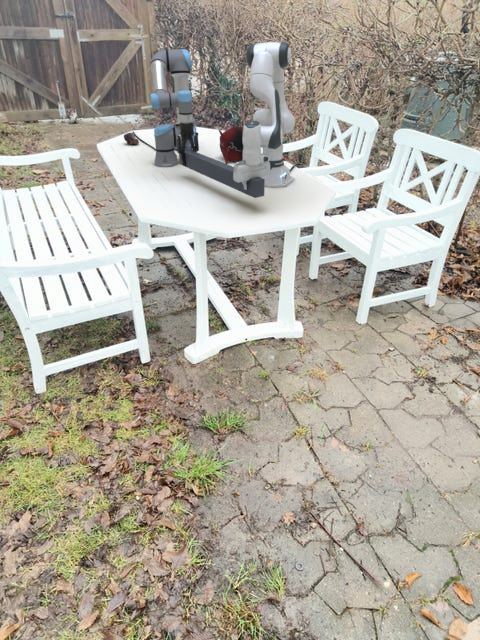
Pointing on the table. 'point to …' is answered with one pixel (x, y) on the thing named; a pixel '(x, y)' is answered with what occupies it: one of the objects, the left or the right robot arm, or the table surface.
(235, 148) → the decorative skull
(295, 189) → the table surface
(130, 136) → the rock
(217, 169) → the post
